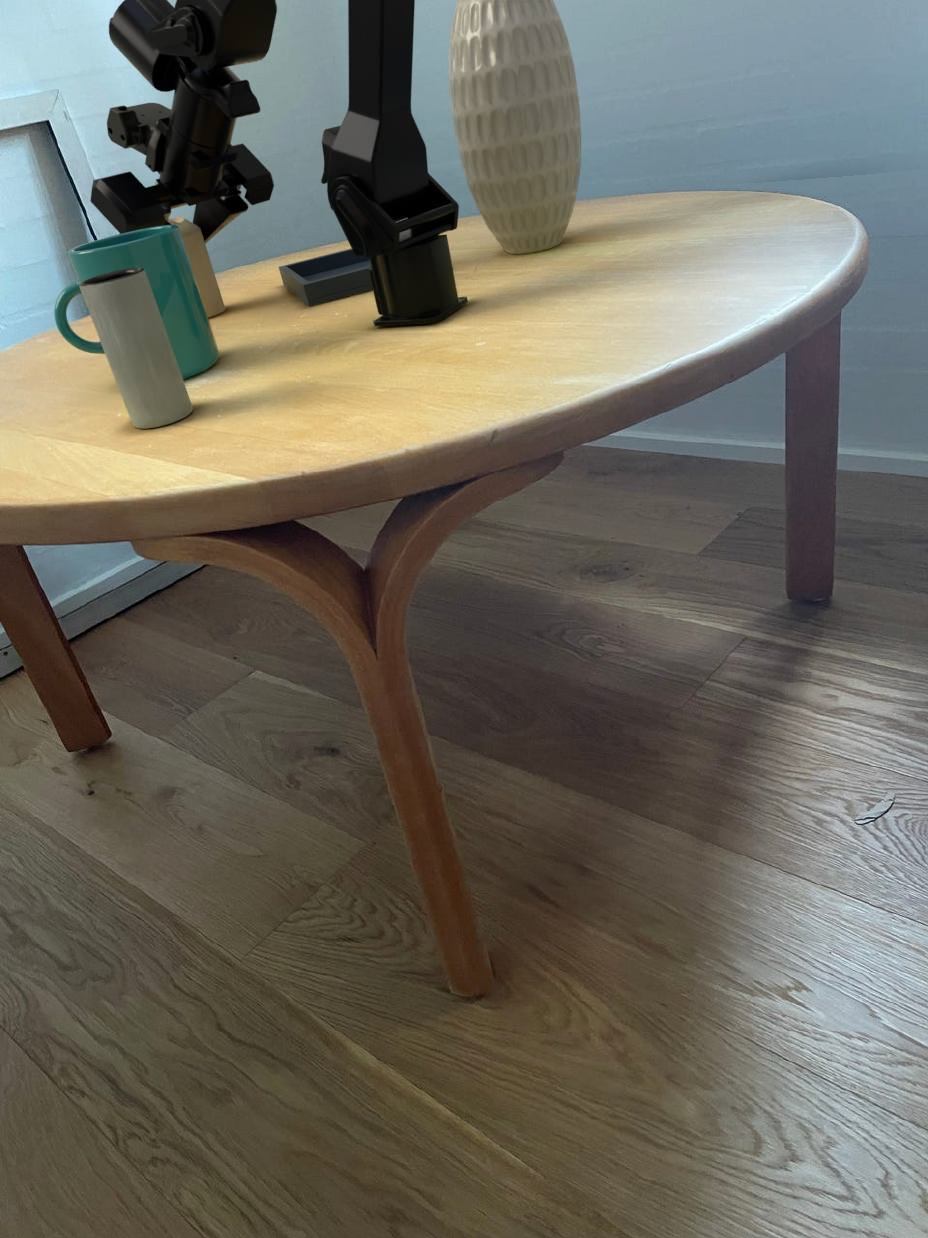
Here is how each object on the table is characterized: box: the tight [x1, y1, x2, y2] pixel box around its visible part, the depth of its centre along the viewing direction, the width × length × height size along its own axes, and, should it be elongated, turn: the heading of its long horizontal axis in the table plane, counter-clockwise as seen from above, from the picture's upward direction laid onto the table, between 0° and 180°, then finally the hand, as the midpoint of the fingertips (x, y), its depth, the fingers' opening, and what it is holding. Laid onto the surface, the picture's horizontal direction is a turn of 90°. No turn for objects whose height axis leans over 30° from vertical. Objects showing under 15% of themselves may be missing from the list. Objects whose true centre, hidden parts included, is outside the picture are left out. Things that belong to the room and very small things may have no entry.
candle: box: [168, 215, 226, 319], centre depth 98 cm, size 6×6×10 cm
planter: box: [79, 267, 194, 430], centre depth 66 cm, size 4×4×10 cm
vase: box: [447, 0, 582, 255], centre depth 92 cm, size 13×13×28 cm
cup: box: [53, 225, 220, 380], centre depth 77 cm, size 9×12×11 cm
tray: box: [278, 247, 373, 308], centre depth 101 cm, size 16×15×2 cm
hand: (173, 253), depth 98 cm, fingers closed on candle, 5 cm apart
